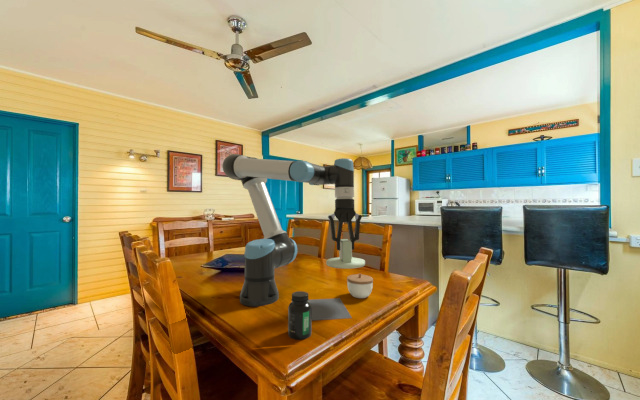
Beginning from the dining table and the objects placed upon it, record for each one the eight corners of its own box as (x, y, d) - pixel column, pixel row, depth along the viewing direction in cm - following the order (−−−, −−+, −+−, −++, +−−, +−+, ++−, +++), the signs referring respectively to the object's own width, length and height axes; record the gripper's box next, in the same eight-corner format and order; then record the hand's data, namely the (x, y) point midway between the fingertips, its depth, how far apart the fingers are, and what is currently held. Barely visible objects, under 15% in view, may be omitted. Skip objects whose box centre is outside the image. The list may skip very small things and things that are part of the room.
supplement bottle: (312, 340, 72) (312, 297, 72) (287, 341, 72) (287, 298, 72) (310, 329, 79) (311, 289, 79) (288, 329, 79) (288, 290, 79)
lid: (329, 269, 92) (328, 243, 92) (324, 260, 107) (323, 238, 107) (370, 267, 94) (369, 242, 94) (359, 259, 109) (359, 237, 109)
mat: (298, 322, 83) (298, 321, 83) (295, 301, 101) (295, 300, 101) (351, 319, 86) (352, 317, 86) (339, 299, 104) (339, 298, 104)
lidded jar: (373, 302, 101) (373, 278, 101) (345, 300, 103) (345, 276, 103) (373, 293, 111) (373, 271, 111) (348, 291, 114) (348, 269, 114)
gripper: (325, 198, 97) (326, 261, 96) (367, 197, 98) (368, 259, 98) (323, 199, 104) (324, 257, 104) (362, 198, 106) (363, 255, 105)
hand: (345, 258), depth 101 cm, fingers closed on lid, 3 cm apart
